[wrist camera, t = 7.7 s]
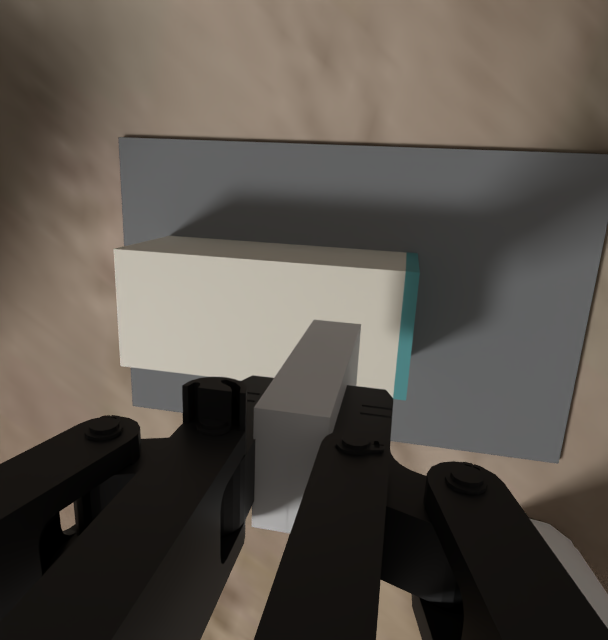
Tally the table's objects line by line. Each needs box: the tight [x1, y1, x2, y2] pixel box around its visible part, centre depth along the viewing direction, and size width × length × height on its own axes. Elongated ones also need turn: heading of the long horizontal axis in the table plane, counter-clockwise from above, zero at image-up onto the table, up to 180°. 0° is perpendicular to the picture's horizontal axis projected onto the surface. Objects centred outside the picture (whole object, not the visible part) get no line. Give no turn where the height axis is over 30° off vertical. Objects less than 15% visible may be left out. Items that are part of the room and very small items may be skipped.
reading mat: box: [118, 137, 608, 463], centre depth 24 cm, size 22×14×1 cm, turn 87°
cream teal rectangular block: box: [114, 236, 420, 400], centre depth 22 cm, size 5×5×12 cm
